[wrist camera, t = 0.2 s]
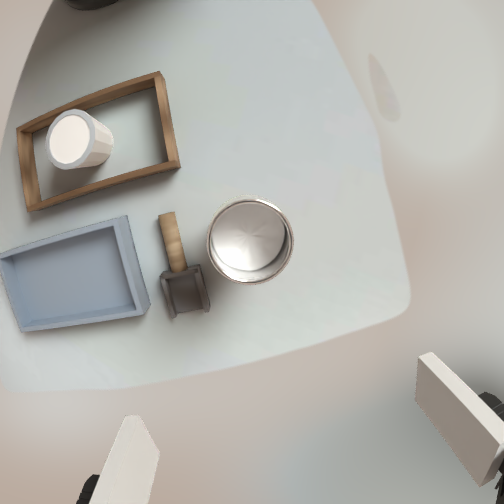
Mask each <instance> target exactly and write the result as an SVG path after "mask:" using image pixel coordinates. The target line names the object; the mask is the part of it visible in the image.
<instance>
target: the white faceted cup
mask: <svg viewBox="0 0 504 504" xmlns="http://www.w3.org/2000/svg"><path fill="white" fill-rule="evenodd" d="M112 148H113V136H112V134H111V131H110V130H109V129H108V128H107V127H106V126H104V125H103V124H102V123H100V122H99V121H97V120H96V119H95V118H93V117H92V116H90V115H89V114H88V113H86V112H85V111H82V110H77V109H72V110H68V111H65V112H63V113H62V114H61V115H59V116H58V117H57V118H56V119H55V120H54V121H53V123H52V124H51V126H50V127H49V130H48V133H47V136H46V153H47V155H48V158H49V160H50V161H51V162H52V163H53V164H54V165H55V166H56V167H58V168H61V169H64V170H66V169H74V168H82V167H91V166H97V165H100V164H101V163H103V162H105V161H106V159H107V158H108V157H109V156H110V154H111V151H112Z"/></svg>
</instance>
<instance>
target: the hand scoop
mask: <svg viewBox="0 0 504 504" xmlns="http://www.w3.org/2000/svg"><path fill="white" fill-rule="evenodd" d="M158 217H159V221H160V226H161V230H162V234H163V238H164V243H165V247H166V251H167V255H168V259H169V263H170V266H171V270H169V271H164V272H163V273H162V274H161V275H160V279H161V283H162V286H163V290H164V293H165V297H166V300H167V304H168V307H169V311H170V314H171V317H172V318H176V316H177V313H181V312H187V311H192V310H198V309H203V308H204V311H205V312H209V309H210V304H209V300H208V296H207V292H206V288H205V284H204V280H203V276H202V272H201V268H200V264H198V265H193V266H189V267H187V263H186V259H185V255H184V251H183V247H182V243H181V238H180V234H179V230H178V225H177V221H176V217H175V212H170V213H166V214H162V215H159V216H158Z"/></svg>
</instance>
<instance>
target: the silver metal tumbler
mask: <svg viewBox="0 0 504 504" xmlns="http://www.w3.org/2000/svg"><path fill="white" fill-rule="evenodd" d="M206 245H207V252H208V255H209V258H210V260H211V262H212V264H213V266H214V267H215V268H216V270H217V271H218V272H219V273H220V274H221V275H223V276H224V277H225V278H227V279H229V280H230V281H233V282H235V283H239V284H244V285H256V284H261V283H264V282H267V281H269V280H271V279H273V278H274V277H276V276H277V275H278V274H279V273H281V272H282V271H283V269H284V268H285V267H286V265H287V264H288V262H289V260H290V258H291V255H292V252H293V246H294V237H293V231H292V228H291V225H290V223H289V221H288V219H287V218H286V216H285V215H284V214H283V212H282V211H281V210H280V209H279V208H278V207H277V206H276V205H275V204H274V203H272V202H271V201H270V200H268V199H266V198H264V197H261V196H257V195H240V196H236V197H234V198H231V199H229V200H228V201H226V202H225V203H223V204H222V205H221V206H220V207H219V208H218V209H217V210H216V212H215V213H214V215H213V217H212V219H211V221H210V224H209V228H208V232H207V239H206Z"/></svg>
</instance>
